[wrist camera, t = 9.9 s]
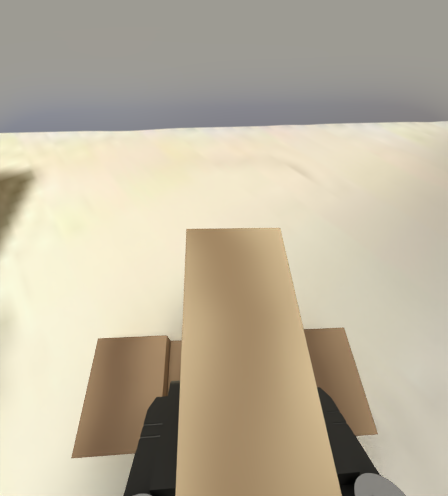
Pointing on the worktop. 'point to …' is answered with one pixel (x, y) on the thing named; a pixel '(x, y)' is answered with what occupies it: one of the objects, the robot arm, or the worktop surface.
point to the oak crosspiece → (247, 374)
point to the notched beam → (169, 369)
